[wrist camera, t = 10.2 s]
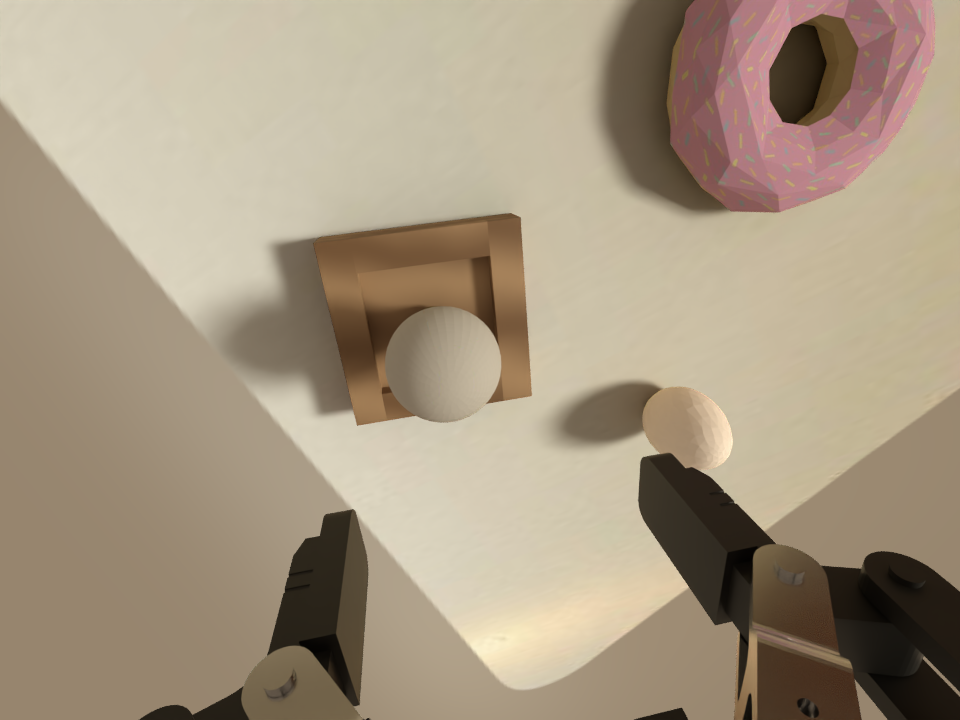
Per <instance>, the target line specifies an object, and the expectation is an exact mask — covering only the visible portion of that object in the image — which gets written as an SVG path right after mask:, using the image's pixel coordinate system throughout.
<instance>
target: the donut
mask: <svg viewBox="0 0 960 720" xmlns="http://www.w3.org/2000/svg"><path fill="white" fill-rule="evenodd" d="M799 24H806V25H813V26H815V27H816V29H817V32H818V35H819V38H820V42H821V45H822V48H823V52H824V55H825V58H826V62H827V65H826V69H825V72H824V75H823V79H822V82H821V85H820V89H819V92H818V96H817V99H816V102H815V106H814V109H813V110H812V111H811V112H810V113H808V114H807V115H806V116H805V117H803V118H802V119H801V120H800V121H798V122H797V123H796V124H790V123H785V122H782V120H781V118H780V117H779V115H778V113H777V112H776V110H775V108H774V106H773V105H772V103H771V101H770V91H769V70H770V68H771V66H772V64H773V62H774V60H775V58H776V57H777V55H778V53H779V51H780V49H781V47H782V45H783V43H784V41H785V39H786V38H787V36H788V34H789V32H790V30H791V28H793V27H795V26H797V25H799ZM934 45H935V18H934V10H933V3H932V0H694V1H693V3H692V4H691V5H690V6H689V7H688V9H687V10H686V13H685V20H684V25H683V28H682V30H681V32H680V34H679V36H678V39H677V41H676V43H675V45H674V47H673V53H672V62H671V70H670V78H669V87H668V95H667V109H668V115H669V121H670V127H671V135H670V145H671V146H672V147H673V149H674V150H675V152H676V154H677V155H678V156H679V158H680V159H681V161H682V162H683V163H684V165H685V166H686V168H687V169H688V170H689V172H690V173H691V174H692V176H693V177H694V179H695V180H696V181H697V183H698V184H699V185H700V186H701V188H702V189H703V190H704V191H706V192H708V193H709V194H711V195H713V196H714V197H715V198H716V199H717V200H718V201H720V202H721V203H722V204H723V205H724V206H725V207H727V208H728V209H729V210H730V211H740V212H781V211H784V210H787V209H790V208H793V207H796V206H799V205H802V204H805V203H808V202H811V201H813V200H816V199H819V198H821V197H824V196H827V195H829V194H832V193H834V192H837V191H840V190H842V189H845V188H846V187H847V186H848V185H849V184H850V183H851V182H852V181H854V180H855V179H856V178H857V177H858V176H859V175H860V174H861V173H862V172H863V171H864V170H865V169H866V168H867V167H868V166H869V165H870V164H871V163H872V162H873V161H875V160H876V159H877V158H878V157H879V156H880V155H881V154H882V153H883V152H884V151H885V149H886V148H887V147H888V145H889V144H890V143H891V141H892V140H893V139H894V137H895V136H896V135H897V133H898V132H899V130H900V129H901V127H902V126H903V124H904V122H905V120H906V118H907V117H908V115H909V113H910V111H911V110H912V108H913V106H914V104H915V103H916V100H917V98H918V95H919V92H920V90H921V87H922V85H923V82H924V79H925V77H926V74H927V72H928V69H929V67H930V64H931V61H932V59H933V56H934Z"/></svg>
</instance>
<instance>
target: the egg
mask: <svg viewBox="0 0 960 720" xmlns="http://www.w3.org/2000/svg"><path fill="white" fill-rule="evenodd" d="M642 420H643V428H644V431H645V434H646V436H647V438H648V440H649V442H650V443H651V444H652V446H653V447H654V448H655V449H656V450H657V451H658V452H659V453H660V454H663V453H671V454H673V455H674V456H675V457H676V458H677V459H678V461H679V462H680V463H681V464H682V465H683V466H684V467H686V468H690V467H693V468H695V469H697V470H707V469H711V468H715V467H717V466H719V465H721V464H722V463H723V462H724V461H725V460H726V459H727V458H728V457H729V455H730V452H731V449H732V444H733V439H732V433H731V428H730V426H729V423H728V421H727V419H726V416H725V415H724V413H723V412H722V411H721V409H720V408H719V407H718V406H717V405H716V403H715V402H713V401H712V400H711V399H710V398H708V397H707V396H706V395H704V394H703V393H701V392H698V391H696V390H694V389H691V388H687V387H669V388H665V389H662V390H660V391H658V392H657V393H655V394H654V395H653V396H652V397H651V398H650V399H649V400H648V401H647V403H646V405H645V407H644V411H643V416H642Z"/></svg>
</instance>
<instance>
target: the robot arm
mask: <svg viewBox="0 0 960 720" xmlns="http://www.w3.org/2000/svg"><path fill="white" fill-rule="evenodd" d="M638 501H639V508H640V512H641V515H642V517H643V519H644V521H645V523H646V525H647V526H648V527H649V529H650V530H651V532H652V533H653V535H654V536H655V538H656V539H657V541H658V542H659V544H660V545H661V547H662V548H663V549H664V551H665V552H666V554H667V555H668V557H669V558H670V560H671V561H672V563H673V564H674V566H675V567H676V568H677V570H678V571H679V573H680V574H681V576H682V577H683V579H684V580H685V582H686V583H687V585H688V586H689V588H690V589H691V590H692V592H693V593H694V595H695V596H696V598H697V599H698V601H699V602H700V604H701V605H702V606H703V608H704V610H705V611H706V612H707V614H708V615H709V617H710V618H711V620H712V621H713V623H714V624H715V625H718V624H723V623H727V622H731V621H732V622H733V623H734V624H735V626H736V627H737V629H738V630H739V631H738V637H737V655H736V656H737V657H736V682H735V709H734V720H862V719H861V713H860V707H859V701H858V696H857V690H856V684H855V680H856V681H857V682H858V683H859V685H860V686H861V687H862V688H863V690H864V691H865V692H866V693H867V695H868V696H869V697H870V698H871V700H872V701H873V702H874V703H875V704H876V706H877V707H878V708H879V709H880V711H881V712H882V713H883V714H884V715H885V717H886V718H887V719H888V720H960V697H959V696H958V695H957V694H956V693H955V692H954V691H953V690H952V688H951V687H950V686H948V684H947V683H946V682H945V681H944V680H943V679H942V678H941V677H940V676H939V675H938V674H937V673H936V672H935V671H934V670H933V669H932V668H931V667H930V666H929V665H928V664H927V663H926V662H925V661H924V660H923V657H924V656H925V657H926V658H927V659H928V660H929V661H930V662H931V663H932V664H933V665H934V666H935V667H936V668H937V669H938V670H939V671H940V672H941V673H942V674H943V675H944V676H945V677H946V678H947V679H948V680H949V681H950V682H951V683H952V684H953V685H954V686H955V687H956V688H957V690H958V691H959V692H960V592H959V591H958V590H957V589H956V588H955V587H954V586H952V585H951V584H950V583H949V582H947V581H946V580H945V579H944V578H942V577H941V576H940V575H939V574H938V573H936V572H935V571H934V570H932V569H931V568H929V567H928V566H927V565H925V564H923V563H921V562H919V561H917V560H915V559H913V558H911V557H908V556H905V555H902V554H898V553H894V552H885V551H883V552H882V551H881V552H875V553H871V554H869V555H868V556H867V557H866V558H865V560H864V562H863V565H862V568H861V569H856V568H844V567H829V566H821V565H820V564H819V563H818V562H817V561H816V560H814V559H813V558H812V557H810V556H809V555H807V554H806V553H804V552H802V551H800V550H798V549H795V548H793V547H789V546H785V545H779V544H776V543H775V542H774V541H773V540H772V539H771V538H770V537H769V536H768V535H767V534H766V533H765V532H764V531H763V530H762V529H761V528H760V527H759V526H758V525H757V524H756V523H755V522H754V521H753V520H752V519H751V518H750V517H749V516H748V515H747V514H746V513H745V512H744V511H743V510H742V509H741V508H740V507H739V506H738V505H737V504H735V503H734V501H733V499H732V498H731V497H730V496H729V495H728V494H727V493H724V491H723V489H722V488H721V487H720V486H719V485H718V484H717V483H716V482H715V481H714V480H713V479H712V478H711V477H709V476H708V475H706V474H704V473H702V472H700V471H699V470H697V469H695V468H693V467H690V468H685V467H684V466H683V465H682V464H681V463H680V462H679V461H678V459H677V458H676V457H675V456H674V455H673V454H671V453H663V454H657V455H652V456H646V457H643V458H642V460H641V464H640V480H639V497H638ZM367 587H368V561H367V554H366V550H365V546H364V542H363V539H362V534H361V531H360V527H359V523H358V519H357V515H356V512H355V510H354V509H352V510H347V511H341V512H336V513H330V514H326V515H325V516H324V518H323V523H322V528H321V533H320V536H318V537H312V538H307V539H305V540H304V542H303V543H302V545H301V546H300V547H299V549H298V550H297V552H296V553H295V554H294V556H293V559H292V563H291V567H290V571H289V578H287V582H286V586H285V593H284V594H283V598H282V602H281V606H280V609H279V613H278V617H277V621H276V625H275V629H274V632H273V636H272V640H271V644H270V648H269V652H268V654H267V656H266V657H265V658H264V659H262V660H261V661H260V662H259V663H258V664H257V666H255V667H254V669H253V670H252V671H251V673H250V674H249V676H248V678H247V680H246V681H245V684H244V686H243V687H242V688H240V689H239V690H238V691H236V692H235V693H233V694H231V695H230V696H228V697H226V698H224V699H222V700H220V701H218V702H216V703H215V704H213V705H211V706H209V707H207V708H205V709H203V710H201V711H199V712H197V713H195V714H194V715H192V714H191V712H190V711H189V710H188V709H187V708H185V707H183V706H179V705H170V706H165V707H162V708H159V709H157V710H155V711H153V712H151V713H149V714H147V715H146V716H144V717H143V718H141V719H140V720H364V719H363V718H362V717H361V716H360V714H359V713H358V712H357V710H356V709H355V708H354V706H357V705H360V690H361V675H362V661H363V645H364V631H365V615H366V601H367ZM366 720H371V719H369V718H367V719H366ZM635 720H688V719H687V717H686V715H685V713H684V711H683V709H682V708H679V709H674V710H671V711H667V712H662V713H658V714H654V715H651V716H646V717H642V718H638V719H635Z"/></svg>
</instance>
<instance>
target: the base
mask: <svg viewBox="0 0 960 720" xmlns="http://www.w3.org/2000/svg"><path fill="white" fill-rule="evenodd" d="M313 244H314V249H315V253H316V257H317V261H318V265H319V269H320V274H321V278H322V282H323V286H324V290H325V294H326V298H327V303H328V307H329V311H330V315H331V319H332V323H333V327H334V332H335V336H336V340H337V344H338V348H339V352H340V357H341V361H342V365H343V369H344V373H345V377H346V381H347V386H348V390H349V394H350V398H351V402H352V406H353V410H354V415H355V419H356V423H357V426H358V425H364V424H370V423H375V422H381V421H387V420H393V419H399V418H405V417H411V416H416V415H414V414H412V413H411V412H409V411H408V410H407V409H406V408H404V407H403V406H402V405H401V404H400V403H399V401H398V400H397V399H396V398H395V396H394V395H393V393H392V391H391V389H390V387H389V384H388V381H387V378H386V372H385V357H386V351H387V347H388V345H389V342H390V339H391V338H392V336H393V334H394V332H395V331H396V330H397V328H398V327H399V326H400V325H401V324H402V323H403V322H404V321H405V320H406V319H407V318H409V317H410V316H412V315H413V314H415V313H417V312H419V311H421V310H423V309H425V308H428V307H432V306H449V307H455V308H460V309H462V310H465V311H468V312H469V313H471V314H473V315H475V316H476V317H478V318H479V319H480V320H481V321H483V322H484V323H485V325H486V326H487V327H488V328H489V329H490V331H491V332H492V334H493V335H494V337H495V339H496V341H497V344H498V346H499V350H500V355H501V374H500V379H499V382H498V385H497V387H496V389H495V392H494V393H493V395H492V396H491V398H490V399H489V401H488V402H487V403H493V402H499V401H505V400H511V399H517V398H523V397H529V396H532V391H531V376H530V360H529V344H528V328H527V313H526V297H525V281H524V266H523V250H522V234H521V218H520V217H518V216H516V215H514V214H512V213H509V214H501V215H493V216H485V217H477V218H469V219H461V220H453V221H445V222H437V223H429V224H421V225H413V226H405V227H398V228H390V229H382V230H374V231H366V232H358V233H350V234H342V235H334V236H326V237H320V238H319V239H318V240H317V241H315V242H314V243H313ZM487 403H486V404H487Z"/></svg>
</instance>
